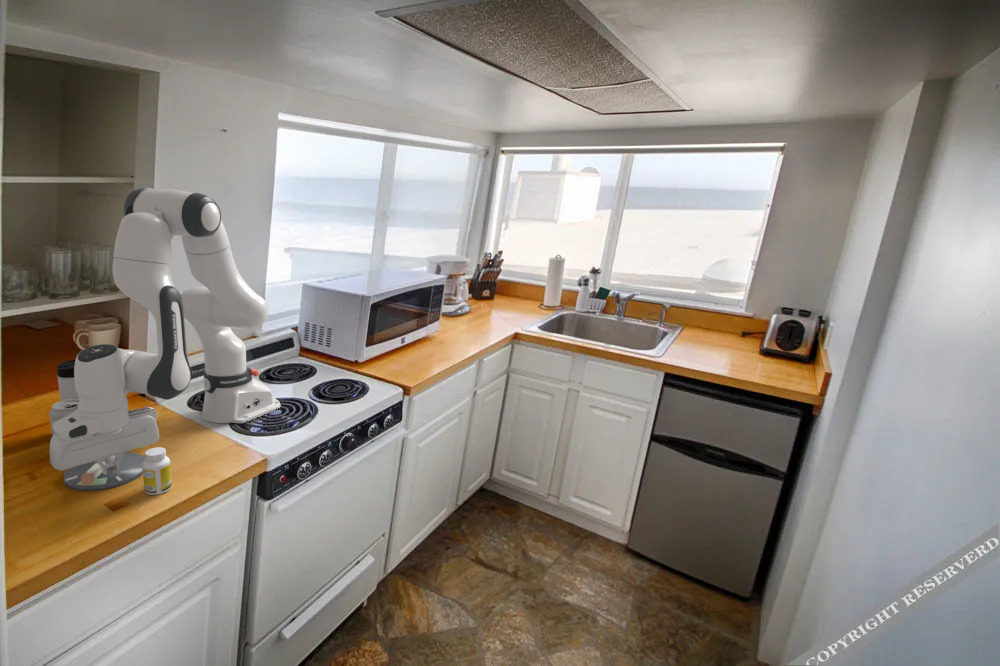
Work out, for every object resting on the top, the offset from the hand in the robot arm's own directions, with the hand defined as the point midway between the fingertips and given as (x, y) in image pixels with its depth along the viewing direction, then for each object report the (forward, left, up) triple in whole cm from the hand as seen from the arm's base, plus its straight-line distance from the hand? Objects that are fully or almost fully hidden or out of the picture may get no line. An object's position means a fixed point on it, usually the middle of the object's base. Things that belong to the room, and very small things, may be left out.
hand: (110, 471), depth 121 cm
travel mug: (-4, -33, -3) cm, 33 cm away
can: (0, -25, -3) cm, 25 cm away
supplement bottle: (-6, +9, -3) cm, 12 cm away
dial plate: (-1, -6, -3) cm, 7 cm away
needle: (+1, -3, -2) cm, 4 cm away
